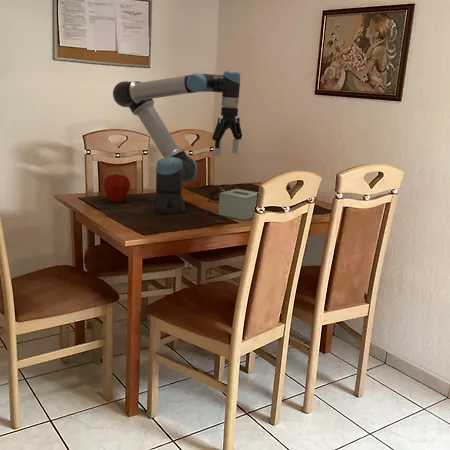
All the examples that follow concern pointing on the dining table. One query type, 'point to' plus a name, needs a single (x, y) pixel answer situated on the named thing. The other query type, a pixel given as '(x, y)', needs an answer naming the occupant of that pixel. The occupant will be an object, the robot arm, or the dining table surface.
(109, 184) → the apple
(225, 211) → the coin box
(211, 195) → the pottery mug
